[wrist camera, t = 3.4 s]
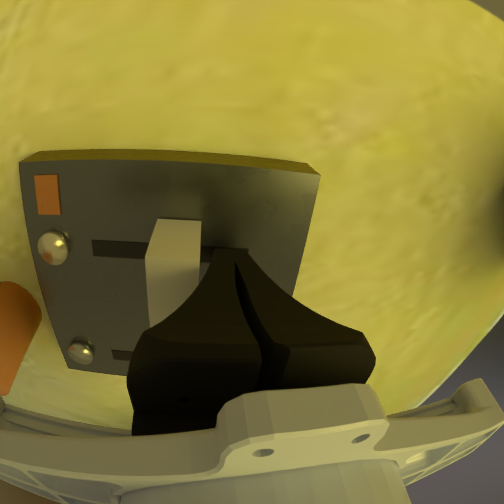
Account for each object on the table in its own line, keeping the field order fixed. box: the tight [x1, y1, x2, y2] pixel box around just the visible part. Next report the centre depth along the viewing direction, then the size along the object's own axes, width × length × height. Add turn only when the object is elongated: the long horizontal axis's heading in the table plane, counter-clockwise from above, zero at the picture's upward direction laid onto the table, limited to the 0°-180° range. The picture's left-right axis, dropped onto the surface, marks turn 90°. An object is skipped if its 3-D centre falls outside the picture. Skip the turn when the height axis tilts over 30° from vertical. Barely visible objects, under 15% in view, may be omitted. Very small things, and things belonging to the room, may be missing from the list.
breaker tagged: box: [145, 219, 201, 328], centre depth 12 cm, size 3×2×3 cm, turn 172°
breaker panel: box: [19, 149, 321, 376], centre depth 15 cm, size 13×13×2 cm
